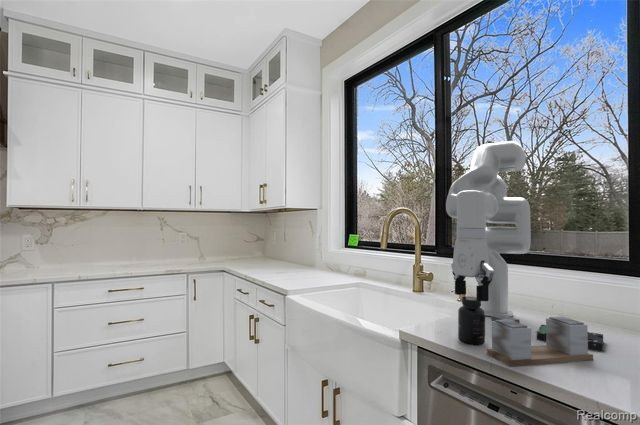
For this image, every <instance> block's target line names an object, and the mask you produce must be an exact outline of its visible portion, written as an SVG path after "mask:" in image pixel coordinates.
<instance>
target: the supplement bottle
mask: <svg viewBox="0 0 640 425" xmlns="http://www.w3.org/2000/svg"><path fill="white" fill-rule="evenodd" d="M461 305H462V306H460V307H459V308H458V311H457V314H458V316H457V318H458V319H457V320H458V321H457V322H458V323H457V326H458V327H457V329H458V330H457V332H458V334H457V336H458V341H459V342H460V343H463V344H465V345H469V346H483V345H484V344H485V343H486V315H485V312H484V310H483V309H482V308H480V306H481V301H477V299H476V296H462V298H461Z"/></svg>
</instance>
